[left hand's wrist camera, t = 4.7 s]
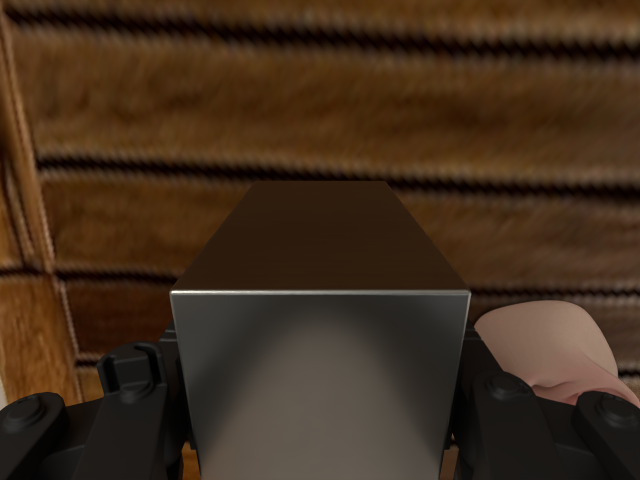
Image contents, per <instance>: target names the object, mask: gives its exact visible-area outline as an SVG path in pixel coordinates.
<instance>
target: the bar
mask: <svg viewBox="0 0 640 480" xmlns="http://www.w3.org/2000/svg"><path fill="white" fill-rule="evenodd" d="M169 295H170V301H171V307H172V312H173V318H174V324H175V330H176V336H177V342H178V347H179V353H180V359H181V365H182V371H183V377H184V382H185V388H186V394H187V400H188V406H189V412H190V418H191V423H192V429H193V435H194V441H195V447H196V453H197V458H198V464H199V470H200V476H201V480H439V478H440V472H441V466H442V461H443V455H444V449H445V443H446V437H447V431H448V426H449V420H450V414H451V408H452V402H453V397H454V391H455V385H456V379H457V373H458V367H459V362H460V356H461V350H462V344H463V338H464V333H465V327H466V321H467V315H468V309H469V303H470V298H471V291H470V289H469V288H468V286H467V285H466V284H465V283H464V281H463V280H462V279H461V277H460V276H459V275H458V274H457V272H456V271H455V270H454V269H453V267H452V266H451V265H450V263H449V262H448V261H447V260H446V258H445V257H444V256H443V255H442V253H441V252H440V251H439V249H438V248H437V247H436V246H435V244H434V243H433V242H432V240H431V239H430V238H429V237H428V235H427V234H426V233H425V232H424V230H423V229H422V228H421V226H420V225H419V224H418V223H417V221H416V220H415V219H414V218H413V216H412V215H411V214H410V212H409V211H408V210H407V209H406V207H405V206H404V205H403V204H402V202H401V201H400V200H399V198H398V197H397V196H396V195H395V193H394V192H393V191H392V189H391V188H390V187H389V186H388V184H387V183H386V182H385V181H255V182H254V183H253V185H252V186H251V187H250V189H249V190H248V191H247V192H246V194H245V195H244V196H243V197H242V199H241V200H240V201H239V203H238V204H237V205H236V206H235V208H234V209H233V210H232V212H231V213H230V214H229V215H228V217H227V218H226V219H225V220H224V222H223V223H222V224H221V226H220V227H219V228H218V229H217V231H216V232H215V233H214V235H213V236H212V237H211V238H210V240H209V241H208V242H207V244H206V245H205V246H204V247H203V249H202V250H201V251H200V252H199V254H198V255H197V256H196V258H195V259H194V260H193V261H192V263H191V264H190V265H189V267H188V268H187V269H186V270H185V272H184V273H183V274H182V275H181V277H180V278H179V279H178V281H177V282H176V283H175V284H174V286H173V287H172V288H171V290H170V293H169Z"/></svg>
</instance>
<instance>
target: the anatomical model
mask: <svg viewBox="0 0 640 480" xmlns="http://www.w3.org/2000/svg"><path fill="white" fill-rule="evenodd" d="M474 328H475V331H477V332H478V334H479V335H480V337H481V340H483V341H484V343H485V344H486V346H487V347H488V349H489V350H490V352H491V353H492V354H493V356H494V357H495V359H496V360H497V362H498V363H499V365H500V366H501V368H502V369H503V371H505V372H509V373H511V374H513V375H515V376H517V377H519V378H521V379H522V380H523V381H525V382H526V383H527V384H528V385H529V386H530V387H531V388H532V390H533V391H534V393H535V394H536V396H539V397H542V398H546V399H550V400H554V401H558V402H563V403H567V404H571V405H575V404H576V401H577V398H578V396H579V395H581V394H582V393H583V392H587V391H593V390H594V391H601V392H607V393H610V394H613V395H616V396H619V397H621V398H623V399H625V400H627V401H629V402H631V403H633V404H634V405H636V406H637V407H639V408H640V401H639V399H638V398H637V397H636V396H635V394H634V393H633V392H632V391H631V390H630V389H629V388H628V387H627V386H626V385H625V384H624V383H623V382H622V381H621V380H619V379H618V371H617V366H616V362H615V359H614V357H613V354H612V351H611V349H610V347H609V345H608V343H607V341H606V339H605V338H604V336H603V334H602V332H601V331H600V329H599V327H598V326H597V324H596V323H595V321H594V320H593V319H592V318H591V316H590V315H589V314H588V313H587V312H586V311H585V310H583V309H582V308H581V307H579V306H577V305H575V304H573V303H569V302H565V301H557V300H543V301H532V302H525V303H519V304H514V305H509V306H505V307H502V308H498V309H495V310H492V311H490V312H488V313H486V314H484V315H483V316H482V317H480V318H479V319H478V321H477V322H476V324H475V326H474Z"/></svg>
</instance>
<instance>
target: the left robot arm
mask: <svg viewBox="0 0 640 480" xmlns="http://www.w3.org/2000/svg"><path fill="white" fill-rule="evenodd" d="M96 366H97V370H98V374H99V377H100V381H101V384H102V388H103V392H104V397H103V398H100V399H96V400H93V401H89V402H84V403H80V404H76V405H71V406H67V407H66V406H65V403H64V400H63V398H62V397H61V396H60V395H58V394H57V393H51V392H43V393H36V394H32V395H29V396H26V397H24V398H21V399H19V400H17V401H15V402H13V403H11V404H9V405H8V406H6V407H4V408H3V409H2V410H1V411H0V480H182V477H183V467H184V464H183V457H182V452H181V451H182V448H183V446H184V443H185V441H186V438H187V435H188V436H189V442H190V447H191V450H196V447H195V441H194V435H193V429H192V423H191V418H190V412H189V406H188V400H187V394H186V388H185V382H184V377H183V371H182V365H181V359H180V353H179V347H178V342H177V336H176V330H175V324H174V319H172V321H171V322H170V324H169V325H168V327H167V328H166V330H165V332H164V333H163V334H162V336H161V337H160V339H159V342H157V343H153V342H149V341H136V342H132V343H127V344H124V345H121V346H119V347H117V348H115V349H112V350H111V351H110V352H108V353H107V354H105V355H104V356H103V357H102V358H101V359H100V360H99V362H98V363H97V364H96ZM452 433H453V436H454V438H455V441H456V443H457V446H458V448H459V452H458V457H457V462H456V467H455V473H454V478H453V480H640V408H639V407H637V406H636V405H634V404H633V403H631V402H629V401H627V400H625V399H623V398H621V397H619V396H616V395H613V394H610V393H607V392H601V391H594V390H593V391H587V392H583V393H582V394H581V395H579V396H578V398H577V401H576V404H575V405H571V404H567V403H563V402H558V401H554V400H550V399H546V398H542V397H539V396H536V394H535V393H534V391H533V390H532V388H531V387H530V386H529V385H528V384H527V383H526V382H525V381H523V380H522V379H521V378H519V377H517V376H515V375H513V374H511V373H509V372H505V371H503V369H502V368H501V366H500V365H499V363H498V362H497V360H496V359H495V357H494V356H493V354H492V353H491V352H490V350H489V349H488V347H487V346H486V344H485V343H484V341H483V340H481V337H480V335H479V334H478V332H477V331H475V328H474V326H473V325H472V323H471V322H470V320H469V319H468V318H467V321H466V327H465V333H464V338H463V344H462V350H461V356H460V362H459V367H458V373H457V379H456V385H455V391H454V397H453V402H452V408H451V414H450V420H449V426H448V431H447V437H446V443H445V449H444V450H449V449H450V443H451V437H452Z"/></svg>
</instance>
